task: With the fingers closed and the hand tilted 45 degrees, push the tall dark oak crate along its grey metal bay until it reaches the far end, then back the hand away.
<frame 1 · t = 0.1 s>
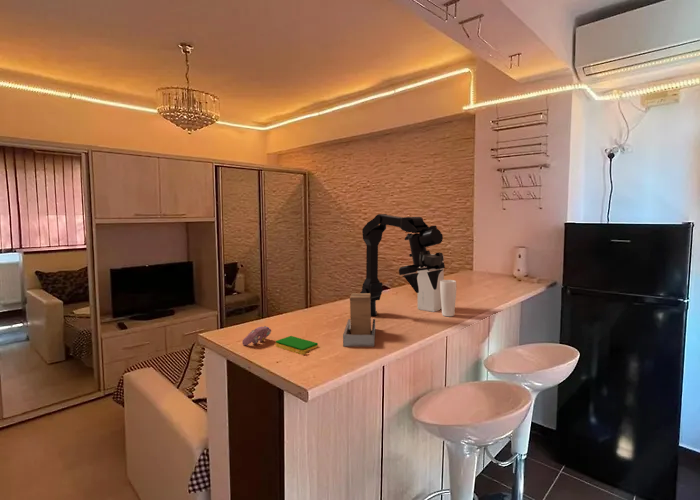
hand: (426, 291, 143), 15 cm above the worktop, tool pointing down, fingers open, 9 cm apart
metal bay: (361, 334, 143), on the worktop
dish sponge: (296, 349, 131), on the worktop
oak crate: (360, 314, 142), point 8 cm above the worktop, slide at 0.0 cm
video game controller: (257, 343, 137), on the worktop
drinking glass: (448, 315, 168), on the worktop
tall white carton: (430, 309, 180), on the worktop
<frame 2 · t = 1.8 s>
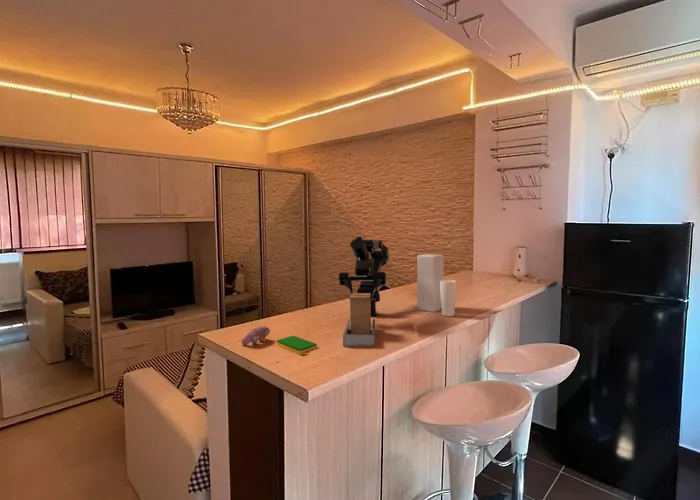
hand: (362, 296, 151), 12 cm above the worktop, tool tilted 45°, fingers open, 7 cm apart
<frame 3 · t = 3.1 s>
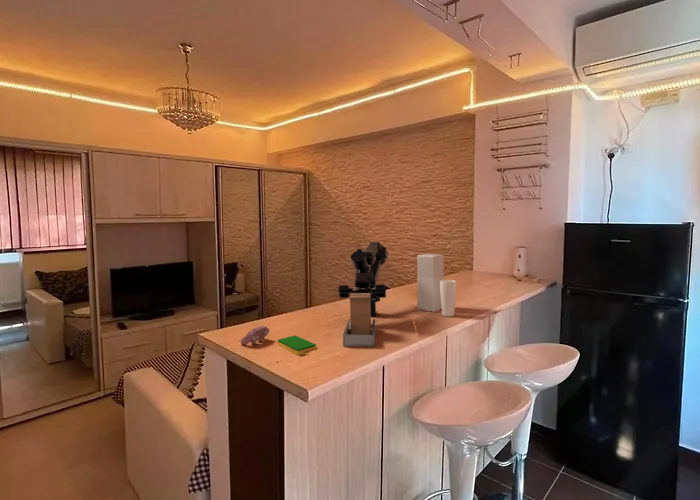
hand: (361, 309, 150), 8 cm above the worktop, tool tilted 45°, fingers closed
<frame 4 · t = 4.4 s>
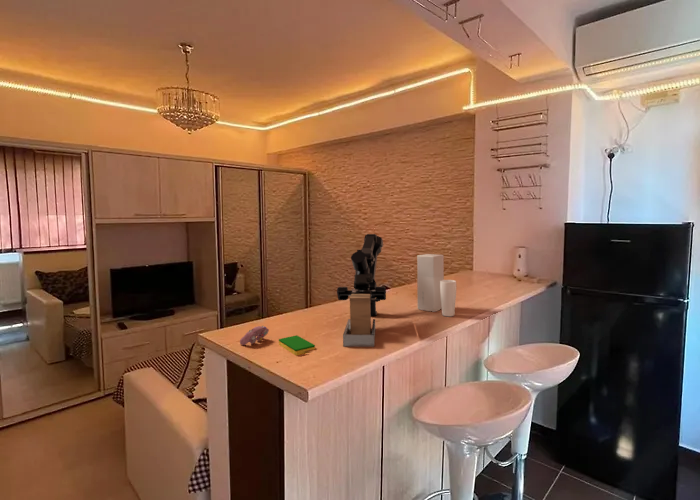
hand: (361, 312, 145), 8 cm above the worktop, tool tilted 45°, fingers closed, pressing on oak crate
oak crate: (360, 314, 141), point 8 cm above the worktop, slide at 1.0 cm, touching gripper
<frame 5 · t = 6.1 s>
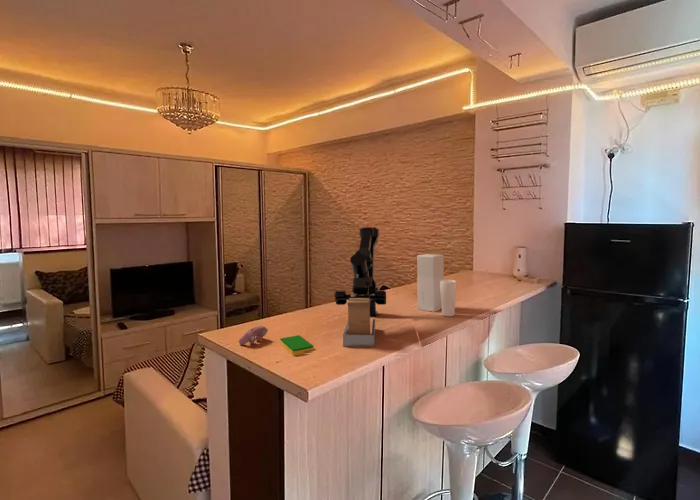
hand: (360, 317, 138), 8 cm above the worktop, tool tilted 45°, fingers closed
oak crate: (359, 320, 134), point 8 cm above the worktop, slide at 8.2 cm
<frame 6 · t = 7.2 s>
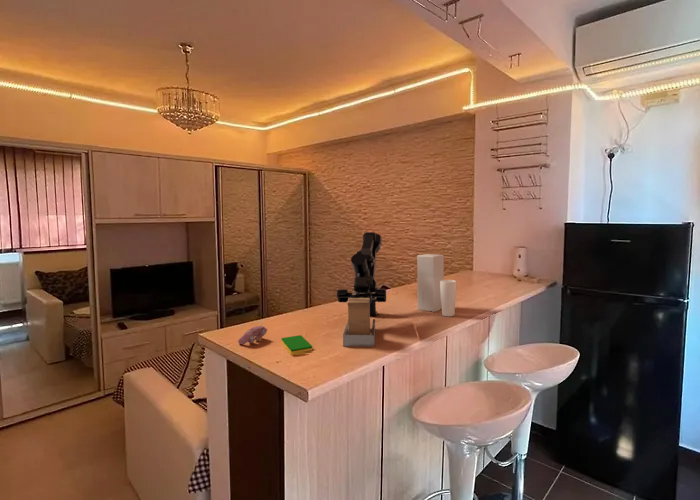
hand: (361, 315, 144), 7 cm above the worktop, tool tilted 45°, fingers closed
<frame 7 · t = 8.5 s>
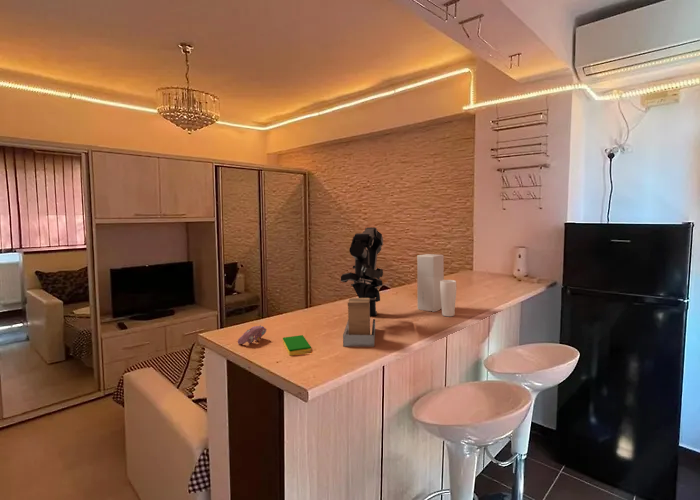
hand: (362, 301, 152), 10 cm above the worktop, tool tilted 20°, fingers closed
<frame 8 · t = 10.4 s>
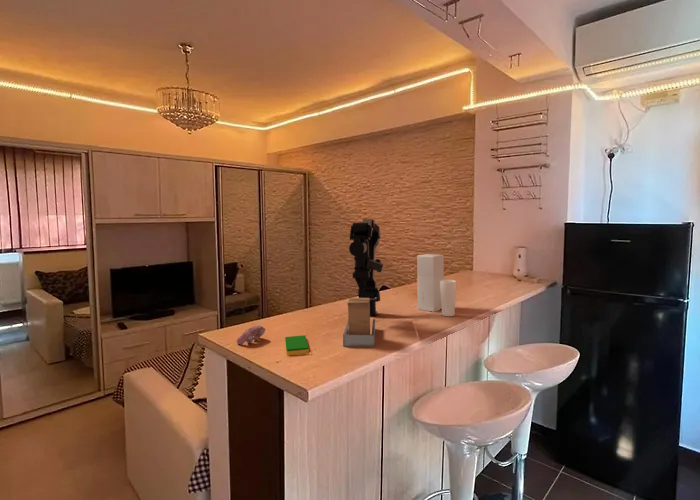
hand: (362, 292, 156), 13 cm above the worktop, tool pointing down, fingers closed
at the end: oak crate slide at 8.2 cm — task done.
